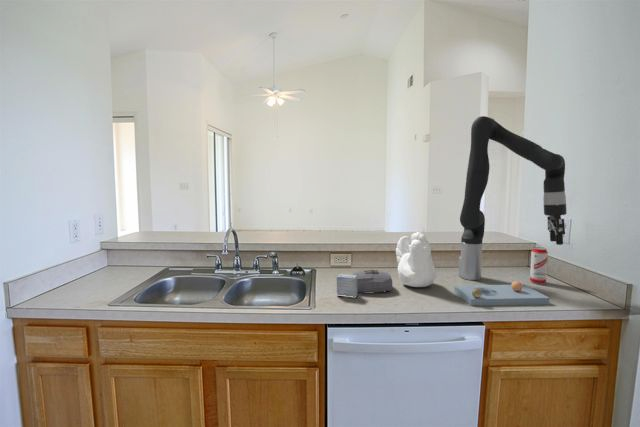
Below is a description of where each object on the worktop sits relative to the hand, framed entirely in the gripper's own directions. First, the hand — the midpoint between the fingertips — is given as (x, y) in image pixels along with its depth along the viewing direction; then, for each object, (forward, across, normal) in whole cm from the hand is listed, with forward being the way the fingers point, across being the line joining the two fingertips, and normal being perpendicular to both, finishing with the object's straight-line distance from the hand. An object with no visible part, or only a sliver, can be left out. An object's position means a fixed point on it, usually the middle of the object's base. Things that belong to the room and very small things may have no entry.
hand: (556, 242), depth 139 cm
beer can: (+21, -15, -4) cm, 26 cm away
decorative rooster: (+17, +2, -57) cm, 60 cm away
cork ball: (+15, +21, -32) cm, 41 cm away
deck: (+20, +11, -23) cm, 32 cm away
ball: (+16, +8, -16) cm, 24 cm away
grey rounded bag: (+16, +17, -75) cm, 79 cm away
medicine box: (+16, +28, -82) cm, 88 cm away
